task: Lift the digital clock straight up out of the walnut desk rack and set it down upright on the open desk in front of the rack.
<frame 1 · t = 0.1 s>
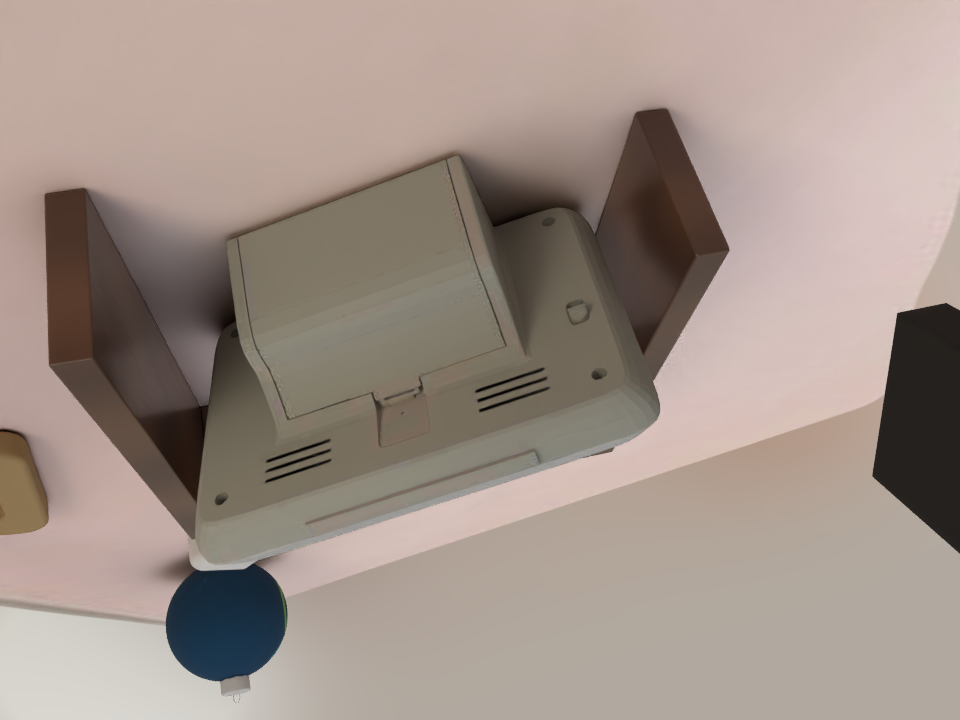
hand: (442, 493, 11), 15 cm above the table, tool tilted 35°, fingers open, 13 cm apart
walnut rack: (380, 252, 33), on the table
christmas ornament: (221, 560, 64), on the table
digital clock: (379, 248, 33), resting in walnut rack
usb wall charger: (241, 482, 51), on the table
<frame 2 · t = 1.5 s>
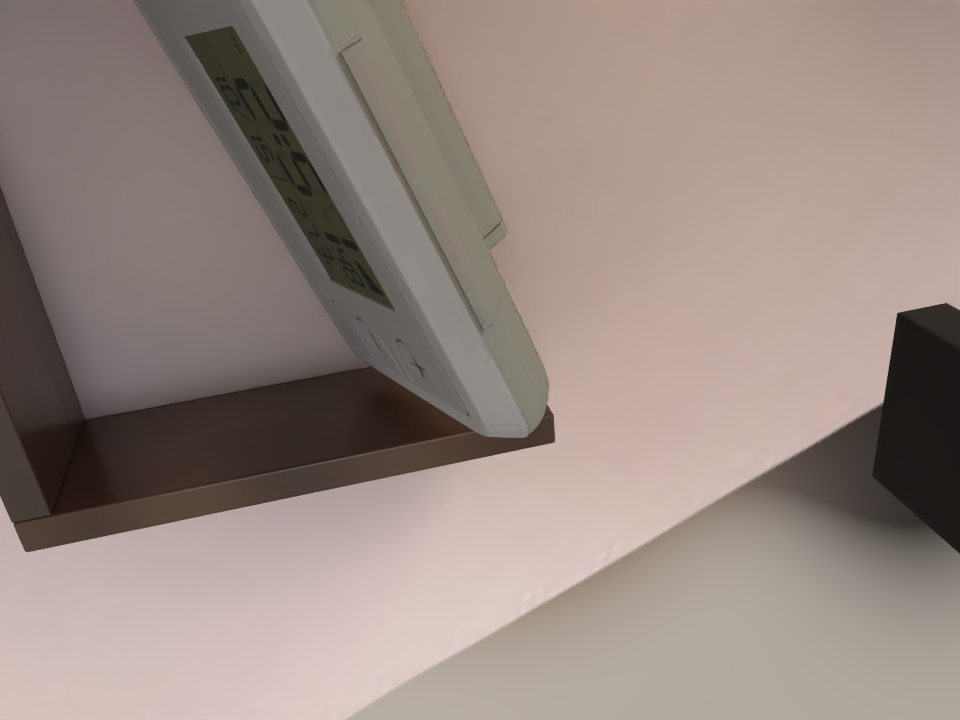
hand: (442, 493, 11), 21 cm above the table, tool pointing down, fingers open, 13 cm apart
walnut rack: (322, 140, 30), on the table
digital clock: (322, 138, 30), resting in walnut rack
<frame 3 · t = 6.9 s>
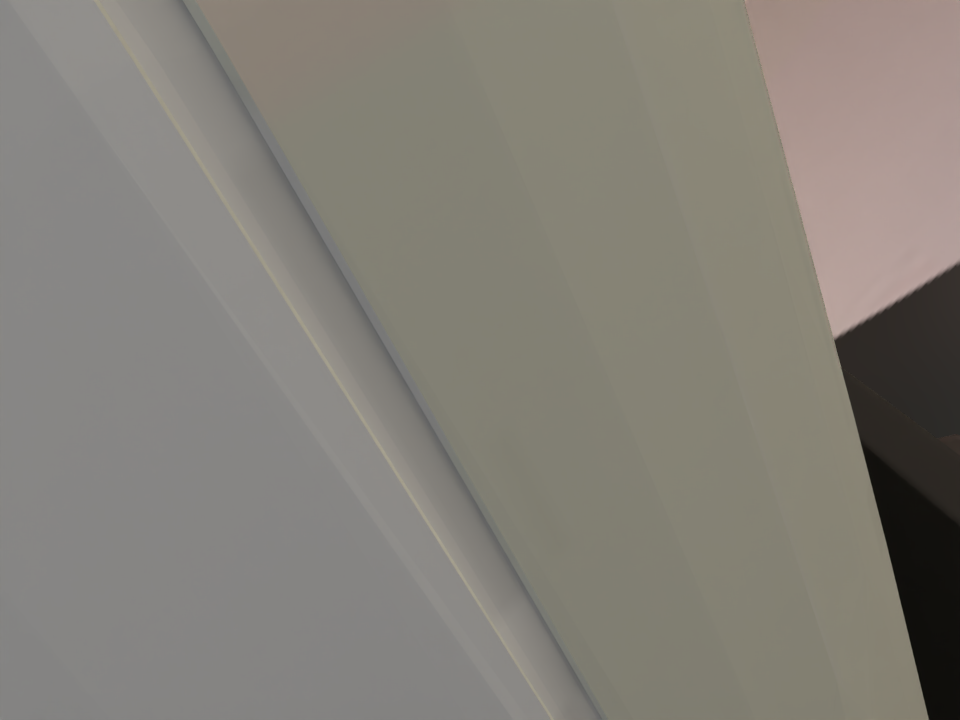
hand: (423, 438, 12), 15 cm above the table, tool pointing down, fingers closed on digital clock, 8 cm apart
digital clock: (364, 405, 14), point 13 cm above the table, touching gripper
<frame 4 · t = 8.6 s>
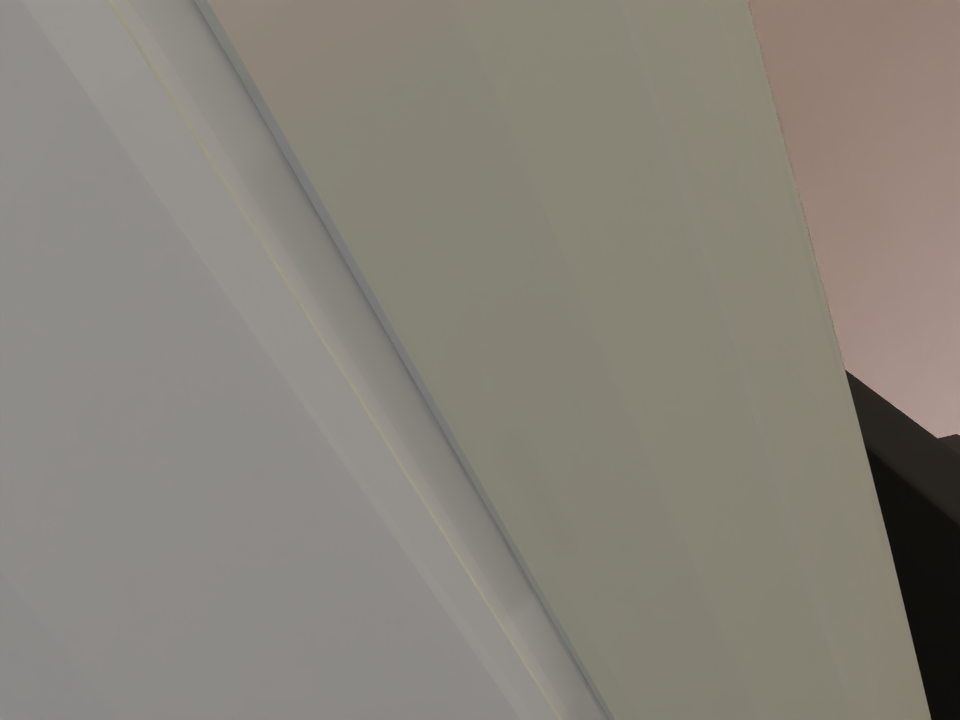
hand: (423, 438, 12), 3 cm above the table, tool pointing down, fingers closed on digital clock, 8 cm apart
digital clock: (365, 405, 14), point 2 cm above the table, touching gripper
when the fingers open (1 cm above the table, at t = 9.7 s): digital clock stays where it is, on the table.
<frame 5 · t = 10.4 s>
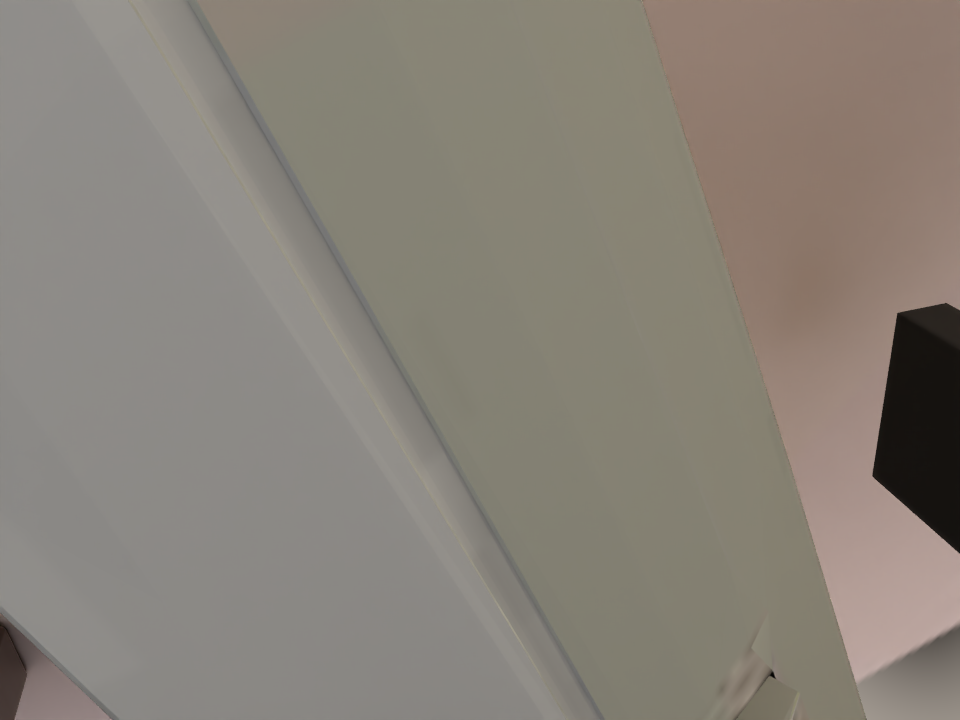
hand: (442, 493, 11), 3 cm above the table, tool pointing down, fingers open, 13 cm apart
digital clock: (355, 392, 14), on the table
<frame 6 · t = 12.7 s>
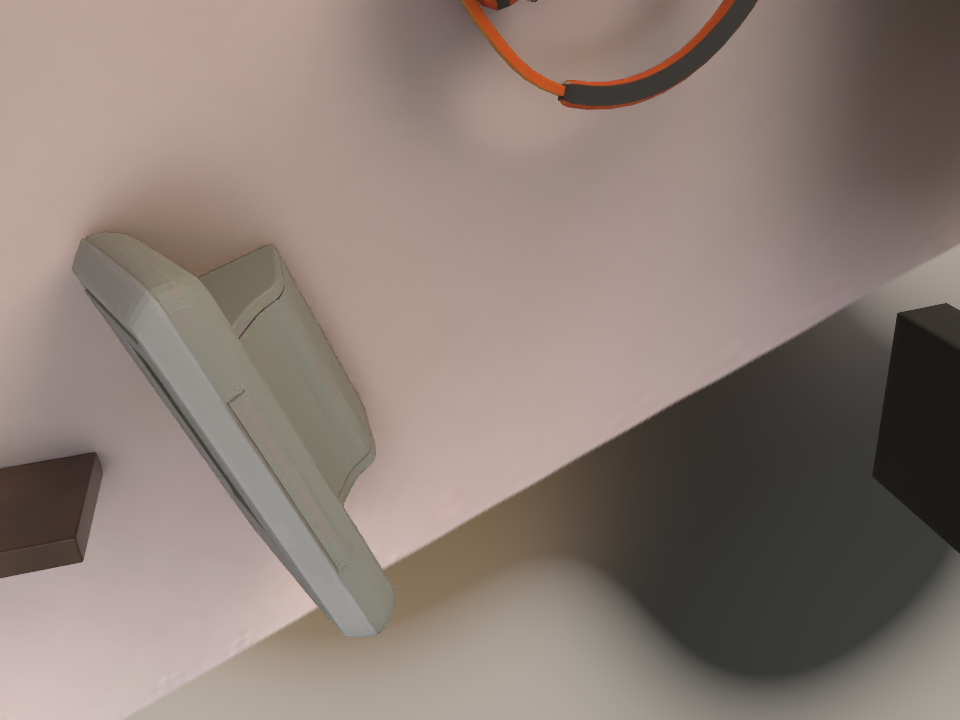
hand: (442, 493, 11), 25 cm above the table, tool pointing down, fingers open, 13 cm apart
digital clock: (233, 367, 37), on the table
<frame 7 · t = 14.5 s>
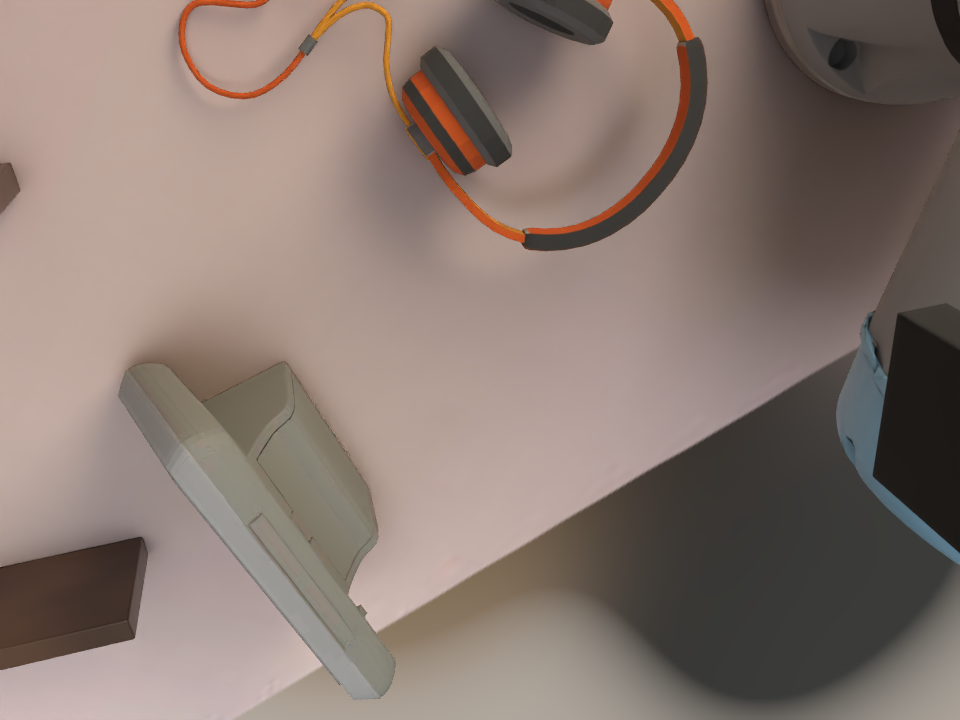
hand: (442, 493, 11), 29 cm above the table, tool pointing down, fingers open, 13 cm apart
headphones: (463, 28, 36), on the table
digital clock: (255, 462, 43), on the table
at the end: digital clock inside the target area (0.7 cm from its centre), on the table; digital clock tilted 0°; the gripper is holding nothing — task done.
